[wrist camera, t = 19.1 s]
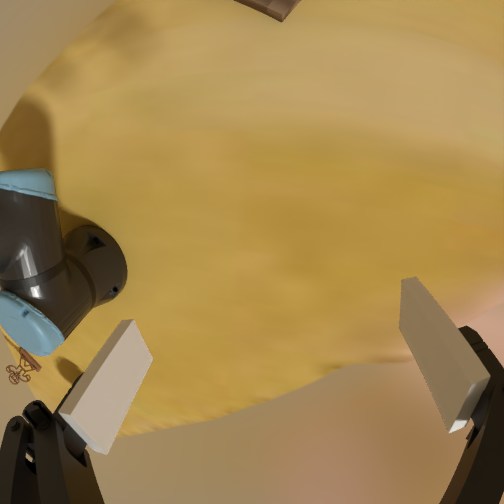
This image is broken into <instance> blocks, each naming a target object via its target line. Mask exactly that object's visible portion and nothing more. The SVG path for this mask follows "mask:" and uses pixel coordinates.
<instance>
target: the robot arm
mask: <svg viewBox="0 0 504 504" xmlns="http://www.w3.org/2000/svg"><path fill="white" fill-rule="evenodd" d="M57 201H58V198H57V196H56V192H55V184H54V177H53V175H52V173H51V172H50V171H49V170H48V169H46V168H32V169H19V170H10V171H1V172H0V288H1V291H0V324H1V326H2V327H3V329H4V330H5V331H6V333H7V334H8V335H9V336H10V337H11V338H12V339H13V340H14V341H15V342H16V343H17V344H18V345H19V346H20V347H22V348H23V349H25V350H26V351H28V352H30V353H32V354H34V355H37V356H47V355H49V354H51V353H52V352H53V351H54V350H55V349H56V348H57V347H58V346H59V345H62V344H63V342H64V341H65V339H66V338H67V337H68V336H69V335H70V334H71V332H72V331H73V330H74V329H75V328H76V326H77V325H78V324H79V323H80V322H81V321H82V319H83V318H84V317H85V316H86V315H87V314H88V313H89V311H90V310H91V309H92V308H94V307H97V306H100V305H102V304H105V303H107V302H109V301H111V300H113V299H114V298H115V297H116V296H117V295H118V294H119V293H120V292H121V291H122V290H123V288H124V286H125V284H126V280H127V265H126V261H125V258H124V255H123V253H122V251H121V249H120V247H119V245H118V244H117V243H116V241H115V240H114V239H113V238H112V237H111V236H110V235H109V234H108V233H106V232H105V231H104V230H102V229H100V228H98V227H95V226H90V225H85V226H80V227H78V228H76V229H74V230H72V231H71V232H69V233H68V234H67V235H66V236H65V237H64V239H63V240H62V234H61V227H60V220H59V213H58V204H57ZM399 329H400V331H401V333H402V334H403V336H404V338H405V340H406V342H407V344H408V346H409V348H410V350H411V352H412V354H413V356H414V358H415V360H416V362H417V364H418V366H419V368H420V370H421V372H422V374H423V376H424V378H425V380H426V383H427V385H428V387H429V389H430V391H431V393H432V396H433V398H434V400H435V402H436V405H437V407H438V409H439V412H440V414H441V416H442V419H443V421H444V424H445V426H446V428H447V431H448V433H451V432H453V431H455V430H458V429H460V428H463V427H465V426H466V425H467V423H468V421H469V420H470V418H472V420H473V422H474V426H473V427H472V429H471V431H470V432H469V434H468V436H467V437H466V439H467V440H468V441H467V444H466V447H465V449H464V452H463V455H462V457H461V459H460V462H459V464H458V466H457V469H456V471H455V473H454V475H453V477H452V480H451V482H450V484H449V486H448V488H447V490H446V492H445V494H444V496H443V498H442V500H441V501H440V503H439V504H499V502H500V500H501V497H502V494H503V492H504V368H503V367H502V365H501V364H500V363H499V361H498V359H497V358H496V357H495V355H494V354H493V353H492V351H491V350H490V349H488V346H487V345H486V343H485V342H483V339H482V338H481V337H480V335H479V334H478V333H477V332H476V331H475V330H473V329H471V328H470V327H468V326H464V327H461V328H457V327H456V326H455V324H454V323H453V322H452V320H451V319H450V318H449V316H448V315H447V314H446V313H445V311H444V310H443V309H442V308H441V306H440V305H439V304H438V302H437V301H436V300H435V299H434V298H433V296H432V295H431V294H430V293H429V291H428V290H427V289H426V288H425V287H424V285H423V284H422V283H421V282H420V281H419V280H418V278H417V277H412V278H407V279H403V280H401V305H400V321H399ZM152 361H153V358H152V356H151V354H150V352H149V350H148V348H147V346H146V344H145V342H144V340H143V338H142V336H141V334H140V332H139V330H138V328H137V326H136V324H135V321H134V319H131V320H122V321H121V322H120V324H119V325H118V326H117V328H116V329H115V330H114V332H113V333H112V334H111V336H110V337H109V338H108V340H107V341H106V343H105V344H104V345H103V347H102V348H101V349H100V351H99V352H98V354H97V355H96V356H95V358H94V359H93V361H92V362H91V364H90V365H89V366H88V368H87V369H86V371H85V372H84V373H83V374H81V375H80V376H79V377H78V378H77V379H76V380H75V382H74V383H73V385H72V388H70V389H69V391H68V394H66V395H65V396H64V398H63V399H62V401H61V403H60V404H59V406H58V407H57V409H56V410H55V412H54V413H53V414H52V413H51V411H50V410H49V409H48V408H47V407H46V405H45V404H44V403H43V402H42V401H40V400H36V401H33V402H31V403H29V404H28V405H27V406H26V407H25V409H24V410H23V414H22V415H23V417H24V418H25V419H26V420H27V421H28V422H29V423H27V422H26V420H25V419H24V418H23V417H21V416H15V417H13V418H12V419H10V421H9V422H8V424H7V426H6V430H5V433H4V437H3V441H2V445H1V448H0V504H104V501H103V498H102V495H101V492H100V489H99V486H98V483H97V480H96V477H95V474H94V471H93V467H92V464H91V460H90V457H89V453H88V452H87V450H86V449H85V447H86V445H87V444H88V445H89V446H90V447H91V448H92V449H93V450H94V451H95V452H99V453H102V454H106V455H108V452H109V450H110V448H111V446H112V444H113V441H114V439H115V437H116V435H117V433H118V431H119V429H120V426H121V424H122V422H123V420H124V418H125V416H126V414H127V412H128V410H129V407H130V405H131V403H132V401H133V399H134V397H135V395H136V393H137V391H138V389H139V387H140V385H141V383H142V381H143V379H144V377H145V375H146V373H147V371H148V369H149V367H150V365H151V363H152ZM26 453H27V454H28V455H30V456H31V457H32V458H33V460H32V462H30V461H29V460H28V459H26V458H25V456H26Z"/></svg>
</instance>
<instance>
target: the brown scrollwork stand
mask: <svg viewBox="0 0 504 504" xmlns="http://www.w3.org/2000/svg"><path fill="white" fill-rule="evenodd" d="M19 353H20V354H21V358H20V365H19V366H20V367H21V368H22V366H21V359H24V360H25V363H26V361H27V362H28V363H29V364H30V365H25V364H24V367H26V366H30V367H31V368H32V369H31V370H26V371H25V370H24V369H23V368H22V369H21V370H20V371H19V372H18V373H17V372H16V373H15V372H14V371H12V370H11V369H10V367H14V368H16V367H15V366H13V365H9V366H7V367H6V371H7V372H8V373H10V372H13V373H11V374H10V376H9V380H10V377H11V378H12V379H13V378H14V377H13V376H15V377H16V379H17V375H18V379H17V380H19V379H20V380H21V381H23V382H28V381H30V379H31V377H30V376H29V375H25V376H24V374H25V373H26V372H28V371H32V370H36V371H37V372H39V371H40V369H41V368H42V367H41V366H40V365H39V364H38V363H37V362H36V361H35V360H34V359H33V358H32V357H31V356H30V355H29V353H28V352H27V351H26V350H25V349H23V348H21V350H20V352H19ZM19 366H18V367H19ZM18 367H17V368H18ZM7 368H9V371H8V370H7ZM17 368H16V369H17ZM33 368H34V369H33ZM22 370H23V371H24V372H25V373H24V374H23V375H22V376H23V377H26V379H27V380H28V381H24V380H22V379H21V378H20V375H19V374H20V372H21V371H22ZM12 374H14V375H12ZM16 374H17V375H16ZM11 375H12V376H11ZM27 376H29V378H30V379H28V378H27ZM16 379H13V380H14V382H16ZM10 382H11V383H12V384H14V385H16V384H18V383H19V381H18V383H17V382H16V383H13V382H12V381H11V380H10Z"/></svg>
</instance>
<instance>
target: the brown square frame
mask: <svg viewBox="0 0 504 504" xmlns="http://www.w3.org/2000/svg"><path fill="white" fill-rule="evenodd" d="M234 1H237V2H239V3H242V4H244V5H246V6H249V7H251V8H253V9H255V10H258V11H260V12H262V13H264V14H266V15H268V16H270V17H272V18H274V19H276V20H278V21H280V22H283V21H284V19H285V18H286V17H287V16H288V15H289V14H290V12H291V11H292V10H293V9H294V8H295V6H296V5H297V4H298V3H299V2H300V1H301V0H234Z"/></svg>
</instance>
